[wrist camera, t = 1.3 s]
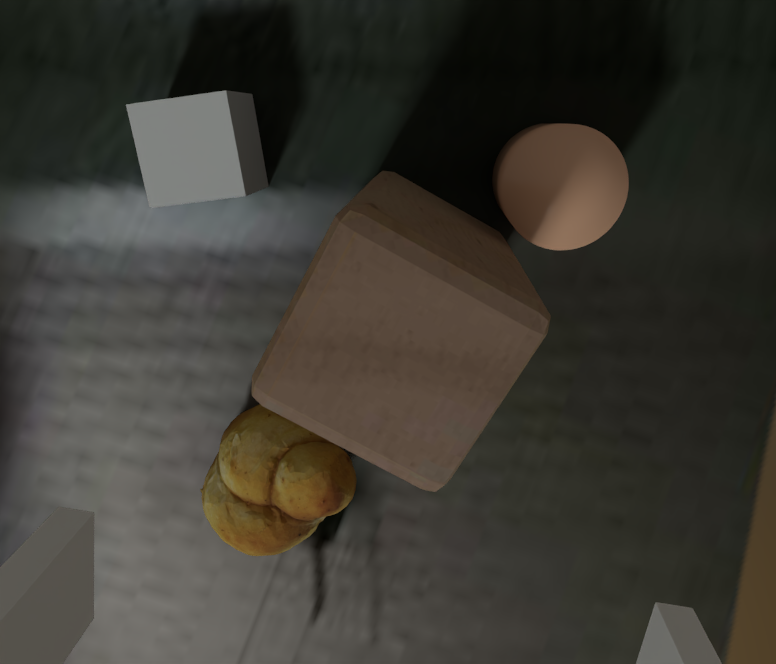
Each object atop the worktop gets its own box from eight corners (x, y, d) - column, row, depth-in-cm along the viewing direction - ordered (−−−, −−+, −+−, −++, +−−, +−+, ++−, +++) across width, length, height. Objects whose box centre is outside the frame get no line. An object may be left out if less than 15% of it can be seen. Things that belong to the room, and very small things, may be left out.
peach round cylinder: (483, 223, 46) (491, 241, 39) (502, 115, 44) (515, 115, 37) (586, 238, 46) (612, 258, 39) (610, 131, 43) (642, 133, 37)
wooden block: (381, 163, 45) (344, 196, 26) (510, 236, 46) (564, 320, 27) (314, 290, 48) (236, 403, 29) (436, 356, 49) (439, 508, 30)
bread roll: (283, 553, 55) (259, 623, 47) (182, 487, 54) (141, 548, 46) (375, 440, 51) (365, 496, 44) (270, 367, 50) (240, 412, 42)
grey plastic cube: (184, 197, 47) (149, 208, 41) (165, 106, 45) (125, 104, 39) (268, 186, 46) (245, 196, 40) (252, 94, 44) (225, 90, 39)
